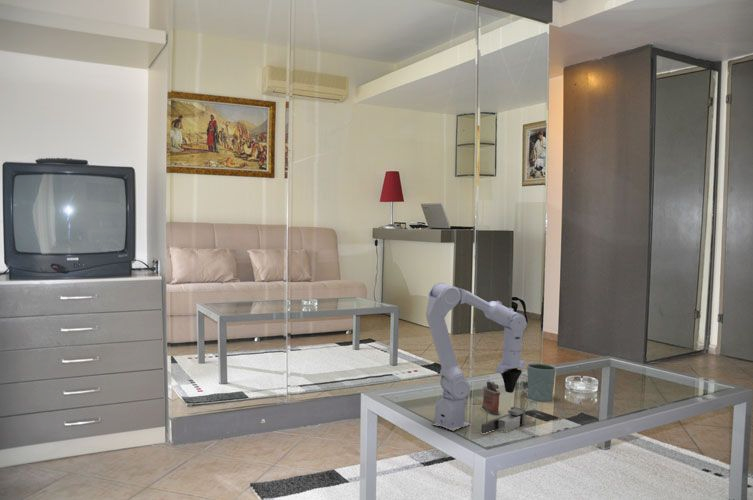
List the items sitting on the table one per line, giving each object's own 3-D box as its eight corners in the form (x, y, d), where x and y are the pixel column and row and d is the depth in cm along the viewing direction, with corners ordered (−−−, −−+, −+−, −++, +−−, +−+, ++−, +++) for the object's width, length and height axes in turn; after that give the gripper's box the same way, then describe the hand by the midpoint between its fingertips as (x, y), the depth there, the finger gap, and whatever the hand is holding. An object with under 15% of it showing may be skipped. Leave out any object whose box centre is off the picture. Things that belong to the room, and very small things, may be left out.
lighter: (479, 407, 208) (481, 379, 207) (488, 407, 209) (490, 378, 208) (492, 415, 200) (494, 385, 200) (501, 414, 201) (503, 385, 201)
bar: (504, 432, 183) (505, 421, 183) (497, 430, 185) (498, 419, 185) (519, 426, 190) (520, 415, 190) (512, 424, 192) (513, 413, 192)
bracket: (493, 437, 178) (494, 421, 178) (481, 434, 181) (482, 418, 181) (524, 424, 192) (525, 409, 192) (512, 421, 195) (513, 406, 195)
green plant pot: (554, 403, 218) (556, 370, 217) (525, 400, 220) (527, 367, 219) (552, 396, 228) (554, 364, 227) (524, 393, 230) (526, 361, 229)
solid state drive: (546, 422, 197) (546, 420, 197) (521, 414, 205) (521, 412, 205) (558, 419, 201) (558, 417, 201) (533, 411, 209) (533, 409, 209)
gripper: (511, 354, 184) (508, 398, 185) (534, 349, 195) (531, 391, 196) (491, 350, 189) (488, 393, 190) (515, 345, 200) (512, 386, 200)
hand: (509, 392), depth 193 cm, fingers closed
